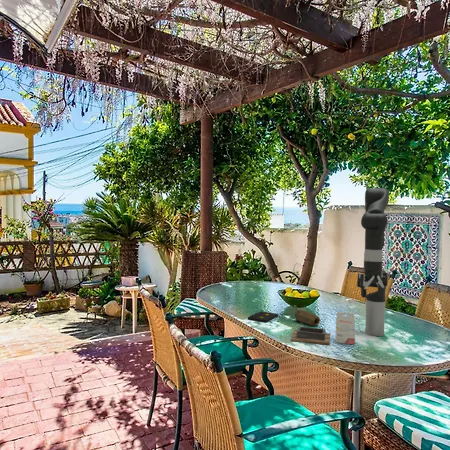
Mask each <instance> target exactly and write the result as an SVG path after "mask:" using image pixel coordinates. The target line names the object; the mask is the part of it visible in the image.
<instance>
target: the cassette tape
mask: <svg viewBox="0 0 450 450" xmlns="http://www.w3.org/2000/svg"><path fill="white" fill-rule="evenodd" d="M278 317H279V313H275V312H270V311H269V312H268V311H262V310H261V311H257V312H255V313H253V314H251V315H250V316H248V317H247V320H249V321H253V322H259V323H265V324H266V323H269V322H271V321H273V320H274V319H276V318H278Z"/></svg>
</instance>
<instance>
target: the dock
mask: <svg viewBox="0 0 450 450" xmlns="http://www.w3.org/2000/svg"><path fill="white" fill-rule="evenodd" d="M290 342H297V343H305V344H312V345H314V344H315V345H322V346H330V345H331V333H328V332H326V329H325V328H318V327H310V326H309V327H308V326H298V328H297V329H294V330H293V332H292V336H291V337H290Z"/></svg>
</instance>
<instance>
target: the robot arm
mask: <svg viewBox="0 0 450 450" xmlns="http://www.w3.org/2000/svg"><path fill="white" fill-rule="evenodd" d="M389 193H390V192H389V190H388V189H387V188H385V187H384V188H383V187H378V188H377V187H372V188H371V187H370V188H366V190H365V192H364V206H365V207H364V208H365V210H364V211H365V212H364V213H363V215H362V217H361V221H360V226H361V227H362V228H363V229H365V231H364V232H365V233H364V252H363V273H361V272H360V273H359V272H358V274H357V281H356V287H358V288H360V295H361V298H365V326H364V332H365V334H367V335H369V336H376V337H381V336H384V335H385V324H386V323H385V320H386V317H385V315H386V314H385V313H386V289H387V286H388V273H387V272H386V270H384V269H383V258H384V257H383V248H384V247H385V231H386V229H387V225H388V223H389V220H388V219H389V218H388V217H387V215H386V214H385V210H386V208H387V207H388V204H389V201H390V200H389V199H390V195H389ZM367 288H377V290H376V291H374V292H370V293H368V291H367V290H368V289H367Z"/></svg>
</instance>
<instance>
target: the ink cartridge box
mask: <svg viewBox="0 0 450 450" xmlns="http://www.w3.org/2000/svg"><path fill="white" fill-rule="evenodd" d="M345 315H346V316H345ZM335 322H336V323H335V343H338V344H339V343H340V344H349V345H355V337H356V318H355V313H354V312H343V311H336V318H335Z"/></svg>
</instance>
